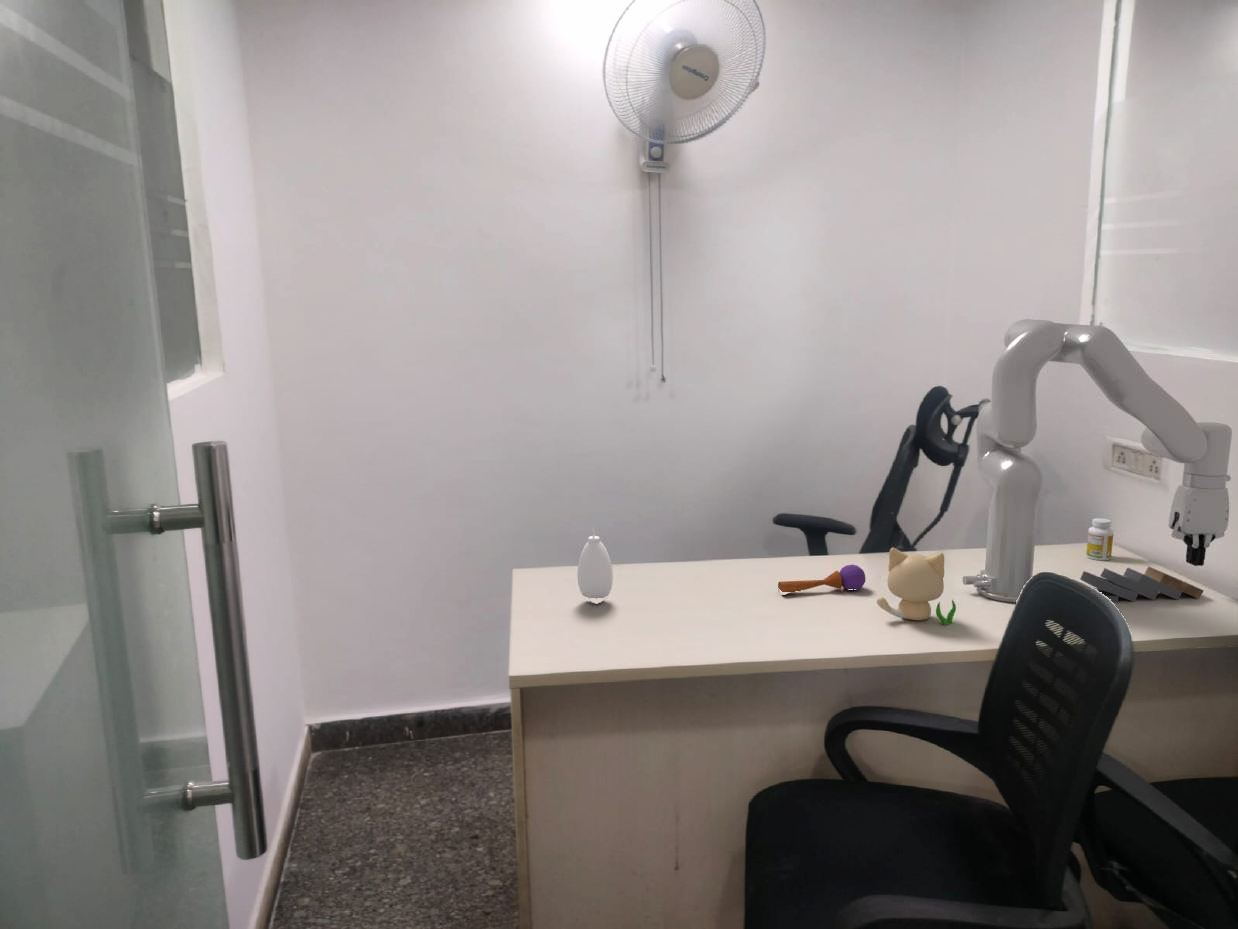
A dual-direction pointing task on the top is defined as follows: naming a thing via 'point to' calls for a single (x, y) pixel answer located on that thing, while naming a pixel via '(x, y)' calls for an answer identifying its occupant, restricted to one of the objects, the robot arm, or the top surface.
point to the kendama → (829, 580)
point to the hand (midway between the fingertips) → (1194, 563)
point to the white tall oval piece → (595, 569)
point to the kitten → (916, 585)
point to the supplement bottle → (1100, 540)
